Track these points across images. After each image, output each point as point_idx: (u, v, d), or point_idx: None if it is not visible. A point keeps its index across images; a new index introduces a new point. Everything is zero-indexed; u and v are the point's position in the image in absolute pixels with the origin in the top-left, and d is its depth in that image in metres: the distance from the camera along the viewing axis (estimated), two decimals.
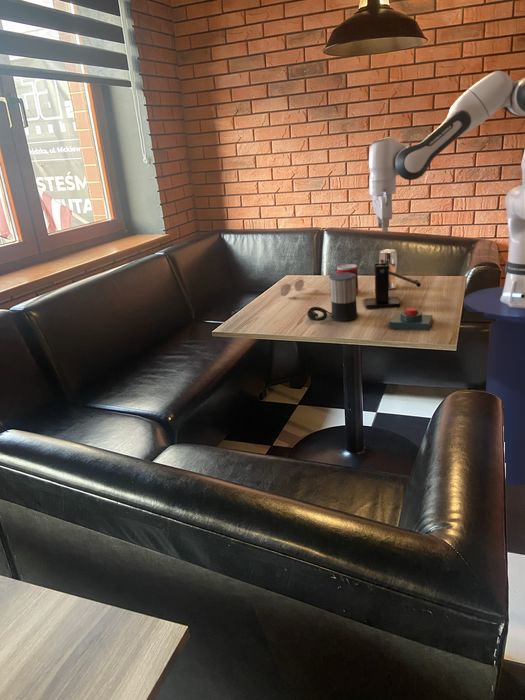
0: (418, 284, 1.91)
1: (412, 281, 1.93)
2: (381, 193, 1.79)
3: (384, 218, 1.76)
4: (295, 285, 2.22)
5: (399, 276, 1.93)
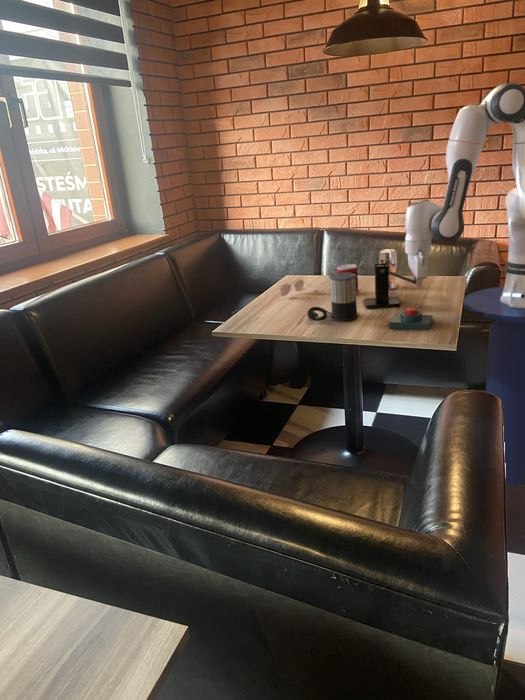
0: None
1: (412, 281, 1.93)
2: (417, 253, 1.85)
3: (419, 278, 1.83)
4: (295, 285, 2.22)
5: (399, 276, 1.93)
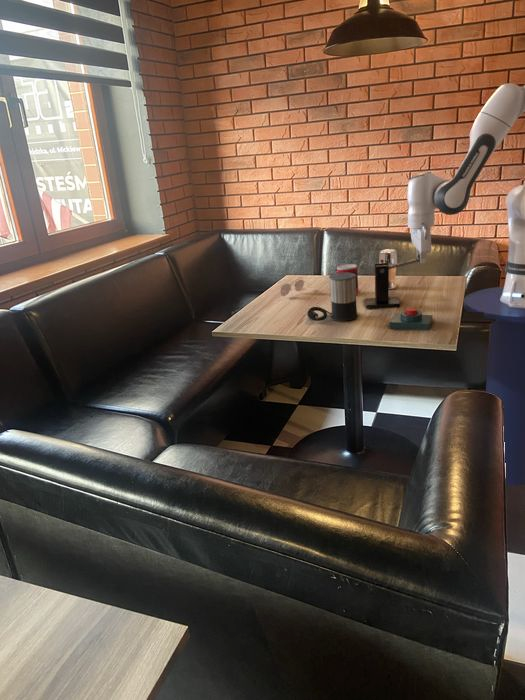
0: None
1: (415, 261, 1.90)
2: (420, 226, 1.82)
3: (423, 251, 1.79)
4: (295, 285, 2.22)
5: (400, 264, 1.91)
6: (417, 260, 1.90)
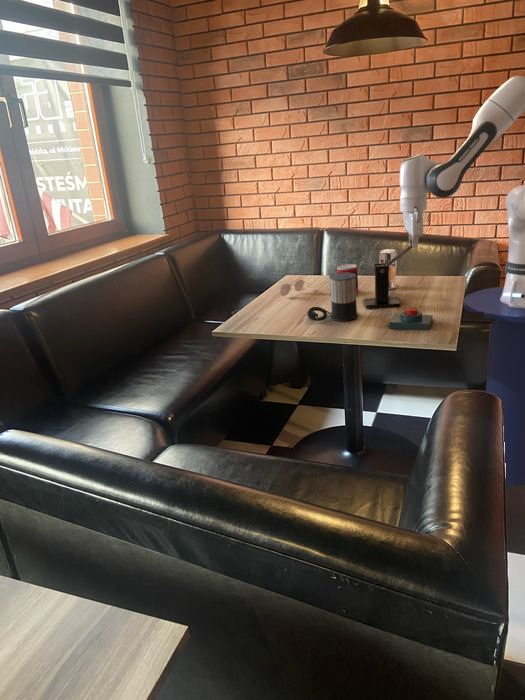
0: None
1: (409, 248, 1.89)
2: (412, 210, 1.80)
3: (415, 235, 1.78)
4: (295, 285, 2.22)
5: (397, 257, 1.90)
6: (411, 246, 1.88)
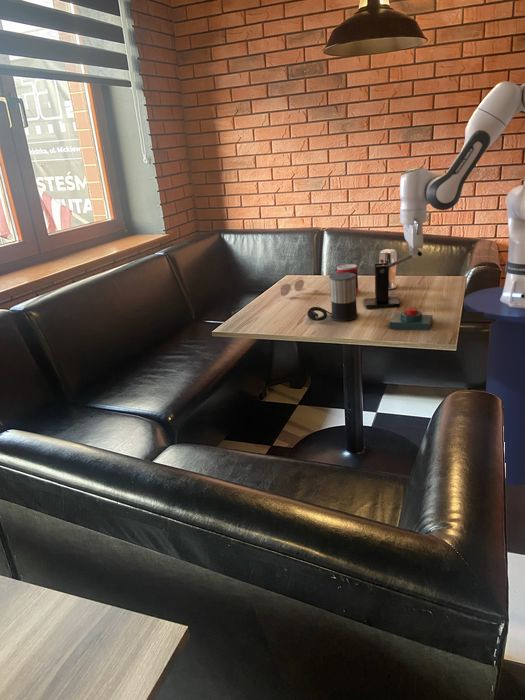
0: (419, 253, 1.87)
1: None
2: (412, 222, 1.82)
3: (415, 247, 1.79)
4: (295, 285, 2.22)
5: (399, 261, 1.91)
6: None
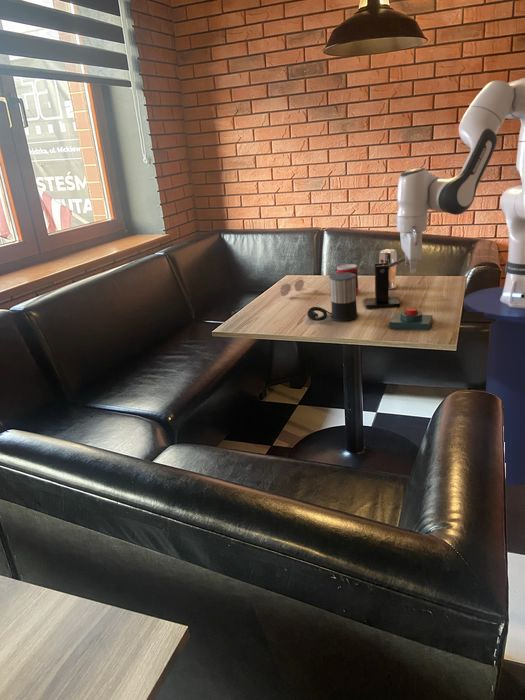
0: None
1: None
2: (410, 230, 1.59)
3: (412, 259, 1.56)
4: (295, 285, 2.22)
5: (399, 261, 1.91)
6: None
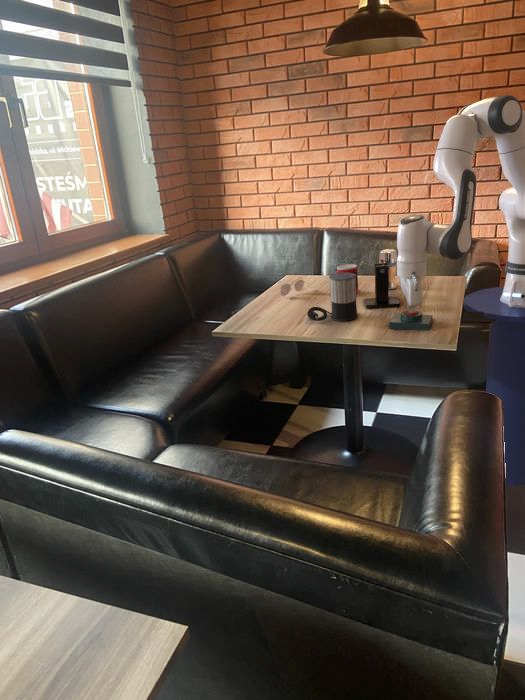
0: None
1: None
2: (410, 276, 1.63)
3: (413, 304, 1.61)
4: (295, 285, 2.22)
5: None
6: None
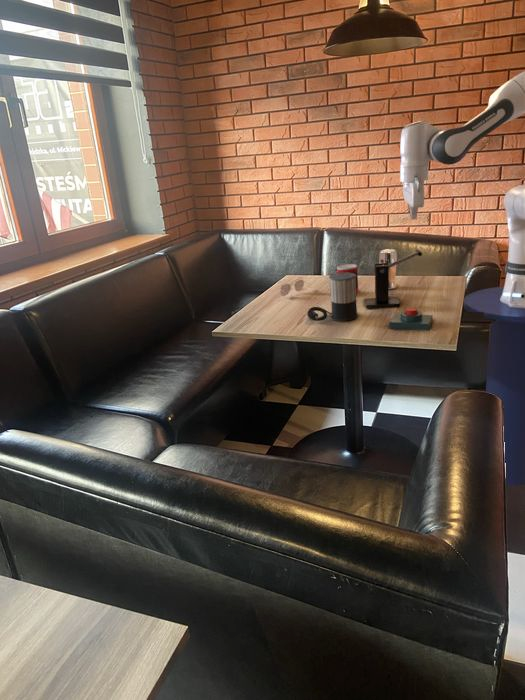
0: (419, 253, 1.87)
1: (413, 255, 1.89)
2: (412, 180, 1.71)
3: (415, 206, 1.68)
4: (295, 285, 2.22)
5: (399, 261, 1.91)
6: (415, 254, 1.89)
